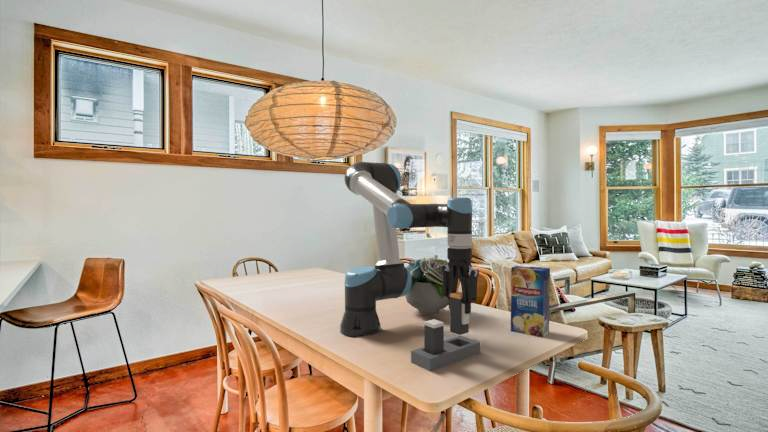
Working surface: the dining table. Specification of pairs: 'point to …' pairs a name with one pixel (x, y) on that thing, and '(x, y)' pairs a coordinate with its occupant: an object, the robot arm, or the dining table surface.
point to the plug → (457, 314)
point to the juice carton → (530, 300)
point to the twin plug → (434, 337)
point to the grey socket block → (446, 353)
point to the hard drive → (448, 336)
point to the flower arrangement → (427, 286)
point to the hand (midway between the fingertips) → (459, 321)
